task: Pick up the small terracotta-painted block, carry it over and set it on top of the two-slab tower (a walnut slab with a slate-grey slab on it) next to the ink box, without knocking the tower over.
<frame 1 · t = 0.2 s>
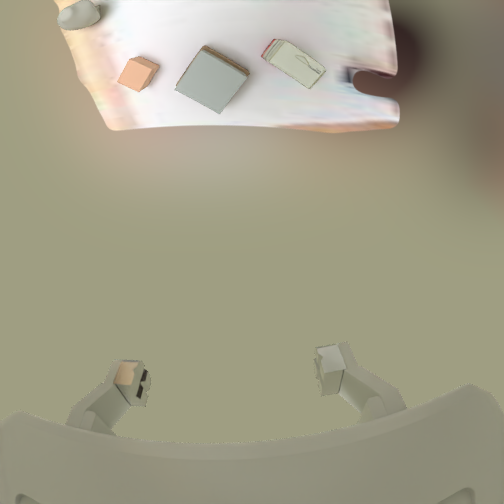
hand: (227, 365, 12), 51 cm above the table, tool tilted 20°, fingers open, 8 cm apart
terracotta block: (143, 71, 42), on the table
walnut block: (213, 75, 45), on the table
figurine: (94, 16, 31), on the table
slate block: (212, 78, 42), point 5 cm above the table
ink box: (284, 58, 43), on the table
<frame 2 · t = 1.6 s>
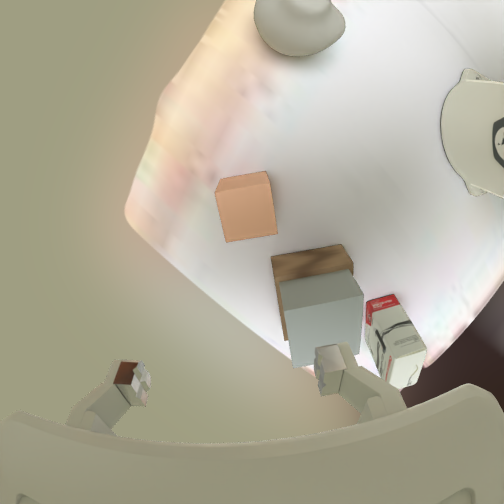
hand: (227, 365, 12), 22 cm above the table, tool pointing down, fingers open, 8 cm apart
terracotta block: (247, 196, 31), on the table
walnut block: (309, 282, 36), on the table, touching slate block
figurine: (284, 41, 23), on the table
slate block: (316, 306, 32), point 5 cm above the table, touching walnut block
ink box: (378, 316, 40), on the table
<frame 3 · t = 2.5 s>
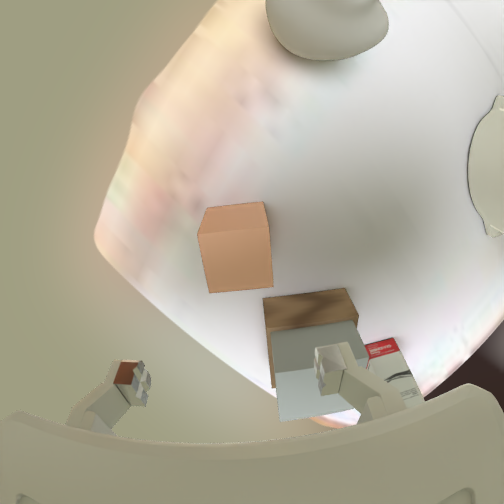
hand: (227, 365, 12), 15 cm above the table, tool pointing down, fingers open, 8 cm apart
terracotta block: (238, 230, 26), on the table
walnut block: (304, 325, 31), on the table, touching slate block
figurine: (299, 40, 18), on the table
slate block: (311, 356, 27), point 5 cm above the table, touching walnut block
ink box: (373, 359, 35), on the table
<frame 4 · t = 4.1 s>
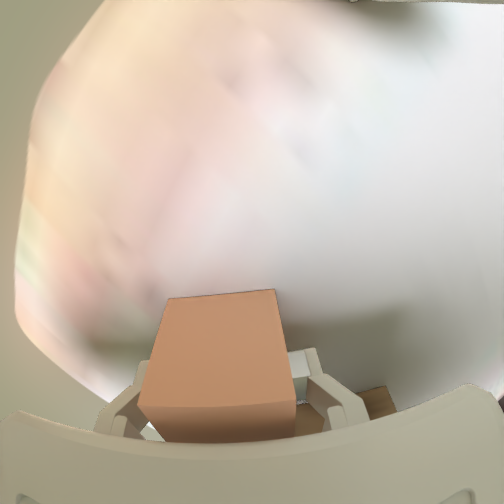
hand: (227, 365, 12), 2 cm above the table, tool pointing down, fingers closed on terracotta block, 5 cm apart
terracotta block: (227, 333, 14), on the table, touching gripper
walnut block: (322, 425, 20), on the table, touching slate block
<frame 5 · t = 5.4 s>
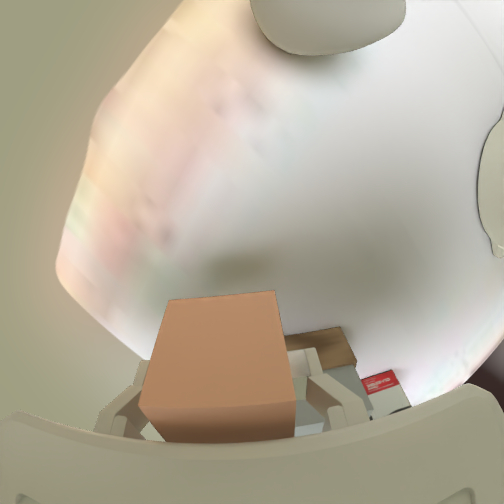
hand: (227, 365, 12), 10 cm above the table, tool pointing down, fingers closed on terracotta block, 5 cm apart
terracotta block: (228, 334, 14), point 8 cm above the table, touching gripper
walnut block: (293, 366, 27), on the table, touching slate block
figurine: (289, 34, 15), on the table
slate block: (304, 401, 23), point 5 cm above the table, touching walnut block
ink box: (370, 391, 31), on the table
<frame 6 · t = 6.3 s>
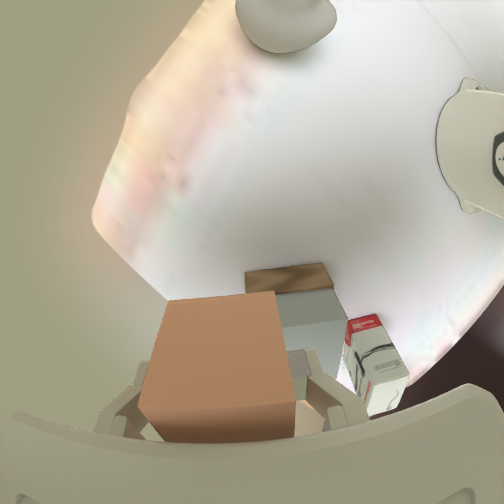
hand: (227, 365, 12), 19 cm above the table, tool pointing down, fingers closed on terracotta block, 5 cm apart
terracotta block: (227, 335, 14), point 17 cm above the table, touching gripper
walnut block: (285, 301, 34), on the table, touching slate block
figurine: (270, 37, 21), on the table
slate block: (294, 325, 30), point 5 cm above the table, touching walnut block
ink box: (358, 336, 38), on the table
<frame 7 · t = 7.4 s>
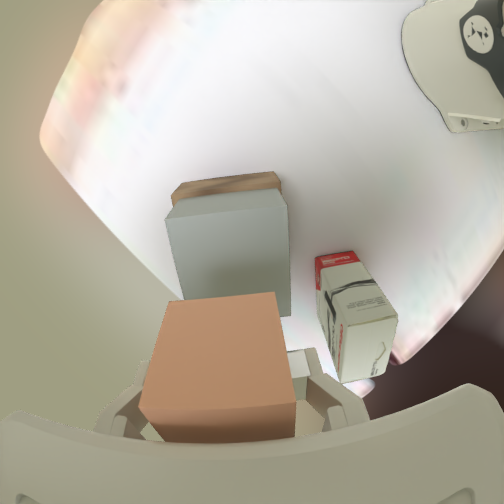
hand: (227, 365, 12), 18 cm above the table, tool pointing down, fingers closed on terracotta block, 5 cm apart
terracotta block: (228, 336, 14), point 16 cm above the table, touching gripper
walnut block: (233, 223, 28), on the table, touching slate block
slate block: (234, 243, 24), point 5 cm above the table, touching walnut block
ink box: (333, 283, 32), on the table
when the fingers open (13 cm above the table, at t = 8.8 s): terracotta block drops 1 cm, resting on slate block.
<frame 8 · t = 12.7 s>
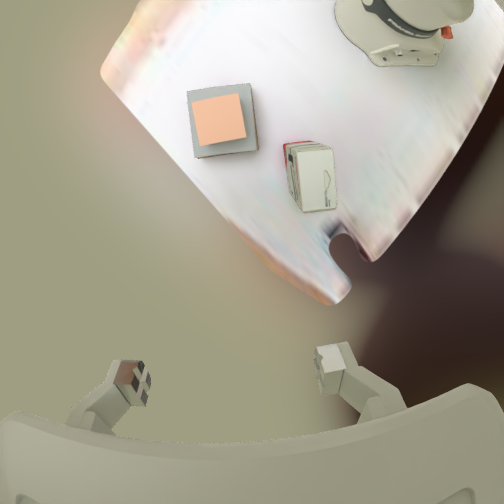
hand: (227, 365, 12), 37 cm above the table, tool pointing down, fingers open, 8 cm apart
terracotta block: (222, 120, 32), point 10 cm above the table, touching slate block
slate block: (223, 120, 36), point 5 cm above the table, touching terracotta block, walnut block
ink box: (299, 166, 44), on the table
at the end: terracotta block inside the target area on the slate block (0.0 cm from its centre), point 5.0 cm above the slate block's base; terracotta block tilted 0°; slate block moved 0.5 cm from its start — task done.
